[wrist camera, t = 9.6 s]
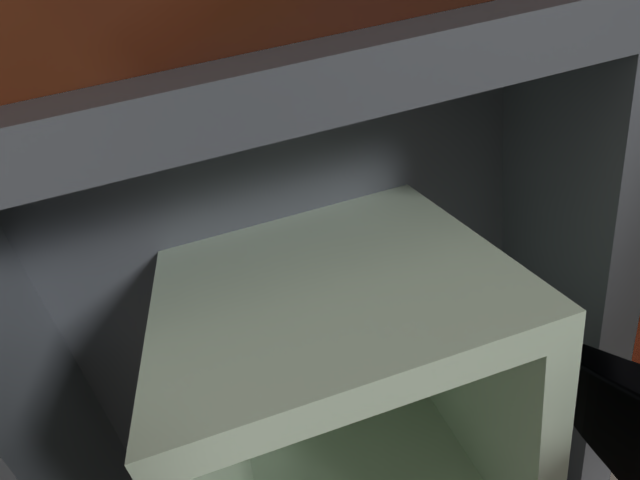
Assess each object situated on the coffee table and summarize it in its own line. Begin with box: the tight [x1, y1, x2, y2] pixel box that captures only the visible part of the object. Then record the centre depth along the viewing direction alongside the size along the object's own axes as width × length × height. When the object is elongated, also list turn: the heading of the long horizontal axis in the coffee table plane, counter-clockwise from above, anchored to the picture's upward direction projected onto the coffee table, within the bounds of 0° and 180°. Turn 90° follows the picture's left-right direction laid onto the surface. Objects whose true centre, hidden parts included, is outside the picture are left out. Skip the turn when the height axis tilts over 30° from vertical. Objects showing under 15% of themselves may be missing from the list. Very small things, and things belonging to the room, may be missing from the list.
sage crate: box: [124, 184, 586, 480], centre depth 10 cm, size 6×6×6 cm
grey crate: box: [0, 0, 640, 480], centre depth 11 cm, size 14×14×4 cm
